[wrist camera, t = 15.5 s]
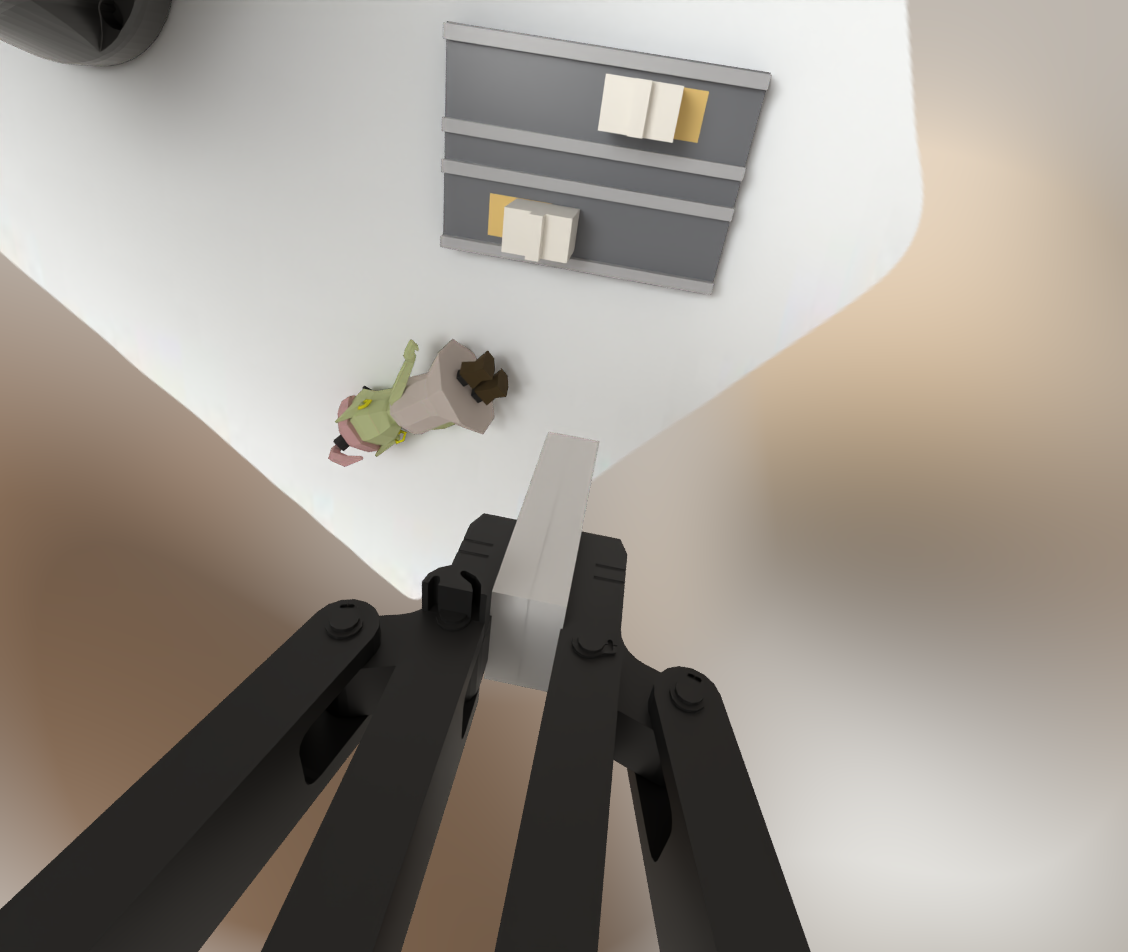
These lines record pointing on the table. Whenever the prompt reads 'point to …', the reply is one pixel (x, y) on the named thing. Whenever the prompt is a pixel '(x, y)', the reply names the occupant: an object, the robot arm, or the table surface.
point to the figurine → (421, 402)
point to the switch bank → (593, 154)
